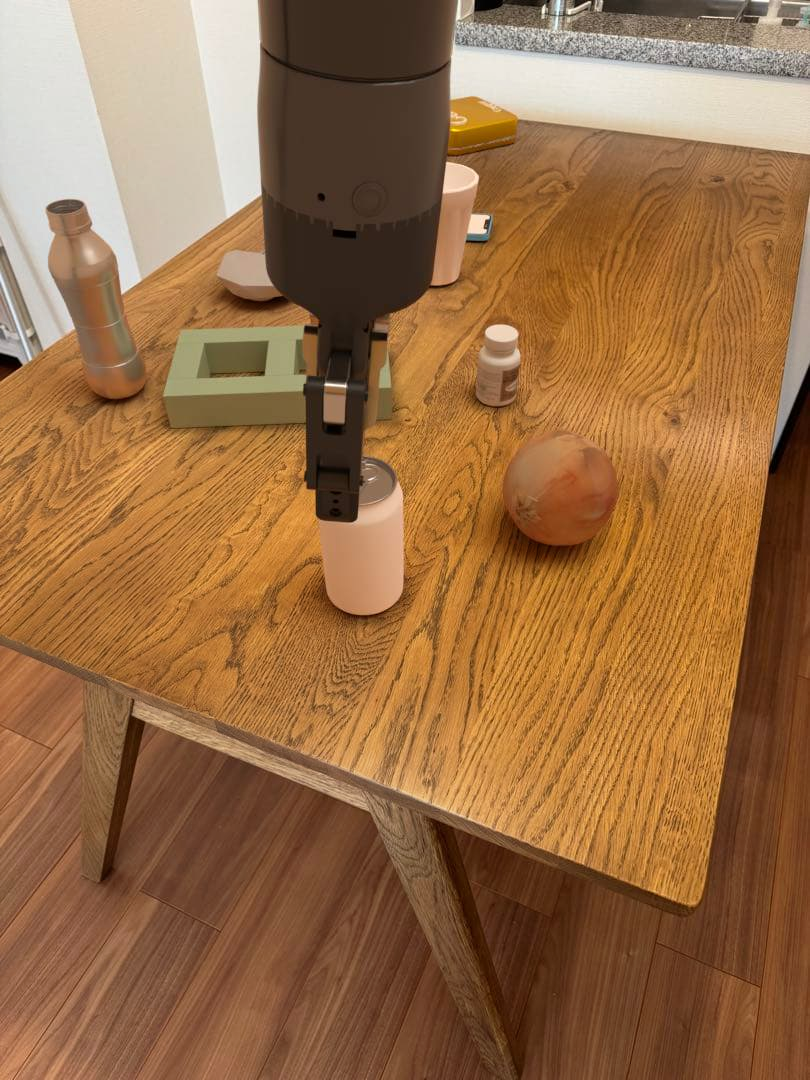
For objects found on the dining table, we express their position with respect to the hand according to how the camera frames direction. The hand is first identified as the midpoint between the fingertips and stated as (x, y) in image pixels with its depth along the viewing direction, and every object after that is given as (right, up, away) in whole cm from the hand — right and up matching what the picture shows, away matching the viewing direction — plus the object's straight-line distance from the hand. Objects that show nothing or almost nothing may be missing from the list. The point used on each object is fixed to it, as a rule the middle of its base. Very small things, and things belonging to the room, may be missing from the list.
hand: (344, 462), depth 44 cm
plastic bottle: (-28, +12, +42) cm, 52 cm away
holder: (-10, +12, +42) cm, 45 cm away
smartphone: (+9, +41, +71) cm, 83 cm away
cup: (+8, +31, +61) cm, 68 cm away
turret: (-13, +30, +60) cm, 69 cm away
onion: (+17, -4, +26) cm, 31 cm away
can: (0, -9, +21) cm, 23 cm away
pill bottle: (+13, +11, +41) cm, 45 cm away
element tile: (+14, +69, +99) cm, 122 cm away
